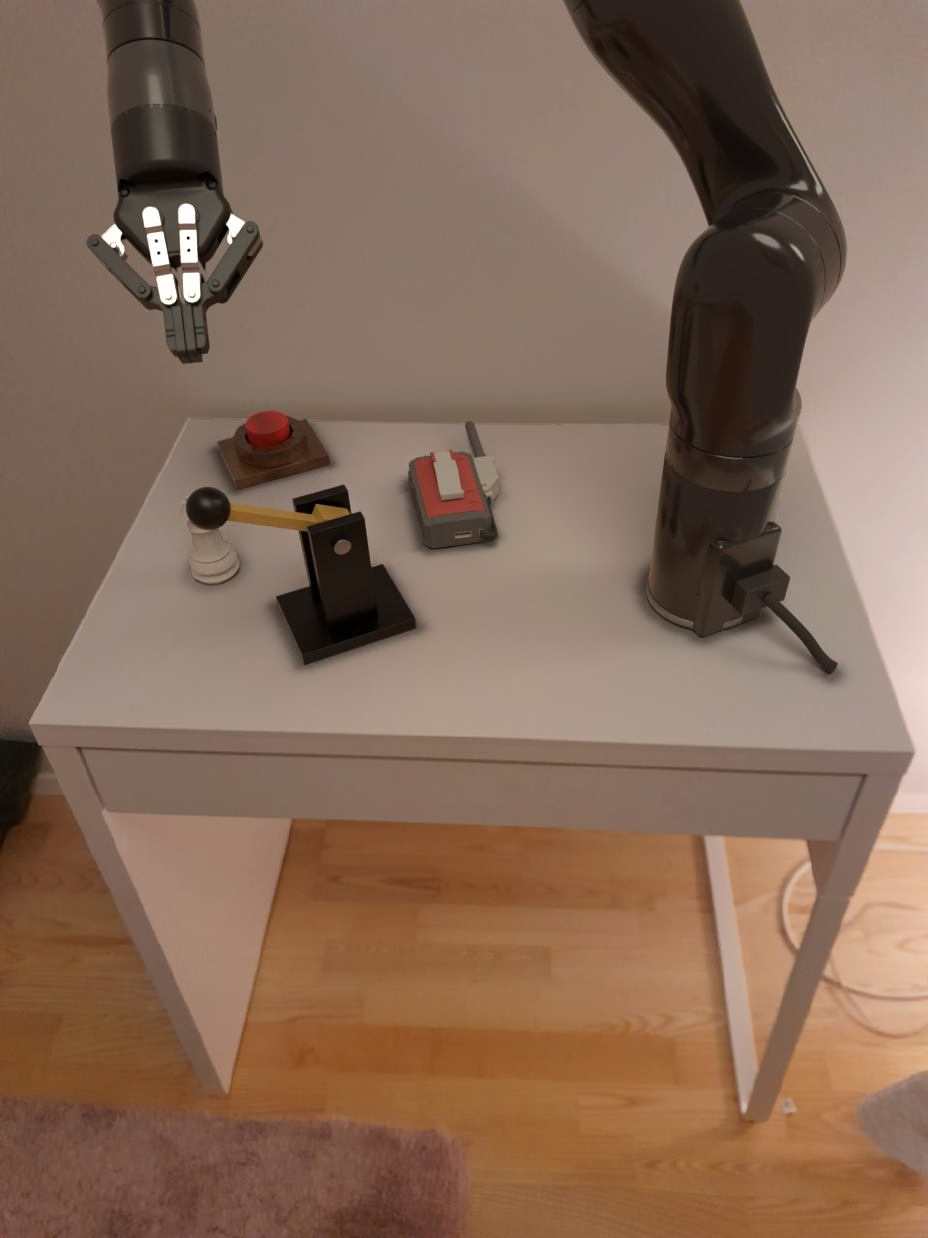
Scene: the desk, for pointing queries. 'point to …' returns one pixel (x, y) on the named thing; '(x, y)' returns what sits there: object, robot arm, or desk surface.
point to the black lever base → (340, 586)
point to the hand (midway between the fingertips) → (190, 359)
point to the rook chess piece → (210, 554)
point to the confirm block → (272, 455)
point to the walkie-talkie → (455, 494)
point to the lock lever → (250, 512)
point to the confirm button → (267, 429)
